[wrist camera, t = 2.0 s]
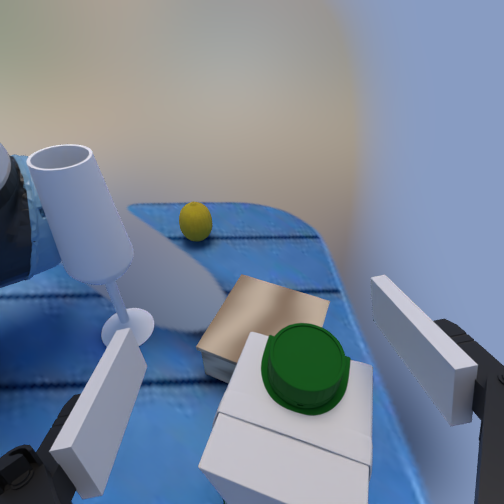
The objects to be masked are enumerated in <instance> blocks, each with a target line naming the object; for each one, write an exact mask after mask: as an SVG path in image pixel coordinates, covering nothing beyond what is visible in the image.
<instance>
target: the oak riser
mask: <svg viewBox="0 0 504 504" xmlns="http://www.w3.org/2000/svg"><path fill="white" fill-rule="evenodd" d="M329 302H330V301H328V300H324V299H321V298H318V297H314V296H311V295H308V294H305V293H301V292H298V291H295V290H291V289H288V288H285V287H282V286H278V285H275V284H272V283H268V282H265V281H262V280H259V279H255V278H252V277H249V276H245V275H241V276H240V278H239V279H238V281H237V283H236V284H235V286H234V287H233V289H232V291H231V292H230V294H229V295H228V297H227V298H226V300H225V302H224V303H223V305H222V306H221V308H220V310H219V311H218V313H217V314H216V316H215V318H214V319H213V321H212V322H211V324H210V326H209V327H208V329H207V330H206V332H205V334H204V335H203V337H202V338H201V340H200V341H199V343H198V345H197V346H196V348H197V350H199V351H201V352H202V358H203V363H204V368H205V374H207V375H210V376H212V377H214V378H217V379H219V380H222V381H224V382H226V383H229V382H230V379H231V377H232V375H233V372H234V370H235V367H236V365H237V362H238V360H239V358H240V355H241V353H242V351H243V348H244V346H245V343H246V341H247V339H248V336H249V334H250V332H256V333H259V334H263V335H266V336H269V335H273V336H275V335H276V334H277V333H278V332H279V331H280V330H281V329H283V328H284V327H286V326H288V325H291V324H295V323H309V324H314V325H317V326H320V327H322V326H323V323H324V319H325V316H326V313H327V309H328V306H329Z"/></svg>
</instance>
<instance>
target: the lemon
mask: <svg viewBox="0 0 504 504" xmlns="http://www.w3.org/2000/svg"><path fill="white" fill-rule="evenodd" d="M179 224H180V229H181V231H182V233H183V234H184V236H185V237H186V238H188V239H189V240H192V241H202V240H204V239H205V238H207V237H208V236H209V234H210V232H211V230H212V217H211V214H210V212H209V210H208V209H207V207H206V206H205V205H203V204H201V203H199V202H191V203H188V204H186V205H185V206H184V207H183V208H182V210H181V212H180V216H179Z"/></svg>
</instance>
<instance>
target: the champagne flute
mask: <svg viewBox="0 0 504 504" xmlns="http://www.w3.org/2000/svg"><path fill="white" fill-rule="evenodd" d="M26 162H27V165H28V168H29V171H30V174H31V177H32V179H33V182H34V185H35V188H36V190H37V193H38V196H39V199H40V202H41V204H42V207H43V210H44V213H45V215H46V218H47V221H48V224H49V227H50V229H51V232H52V235H53V238H54V241H55V243H56V246H57V249H58V252H59V254H60V257H61V260H62V263H63V266H64V268H65V270H66V272H67V273H68V274H69V275H70V276H71V277H72V278H74V279H76V280H78V281H80V282H82V283H87V284H91V285H103V284H105V286H106V289H107V291H108V293H109V296H110V298H111V301H112V303H113V305H114V308H115V310H116V314H114V315H113V316H111V317H110V318H109V319H108V320H107V322H106V323H105V324H104V326H103V328H102V332H101V338H102V341H103V343H104V344H105V345H106V346H107V347H108V345H109V343H110V342H111V340H112V338H113V336H114V334H115V333H116V331H117V330H121V329H126V328H131V330H132V332H133V335H134V337H135V339H136V341H137V344H138V346H140V345H141V344H143V343H144V342H145V341H146V340H147V339H148V338H149V337H150V335H151V334H152V332H153V329H154V319H153V317H152V315H151V314H150V313H149V312H147V311H145V310H143V309H140V308H129V309H126V307H125V305H124V302H123V299H122V297H121V294H120V291H119V289H118V286H117V283H116V281H115V280H117V279H118V278H120V277H121V276H122V275H123V274H124V273H125V272H126V271H127V269H128V268H129V266H130V264H131V262H132V260H133V255H134V250H133V246H132V244H131V241H130V239H129V237H128V235H127V232H126V230H125V227H124V225H123V223H122V220H121V218H120V216H119V213H118V211H117V209H116V206H115V204H114V202H113V199H112V197H111V195H110V192H109V190H108V188H107V186H106V183H105V181H104V178H103V176H102V174H101V171H100V169H99V167H98V164H97V162H96V160H95V158H94V155H93V152H92V151H91V149H89V148H87V147H85V146H82V145H74V144H66V145H57V146H51V147H48V148H45V149H41V150H39V151H37V152H35V153H33V154H32V155H30V156H29V157H28V158H27V161H26Z"/></svg>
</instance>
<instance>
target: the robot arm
mask: <svg viewBox="0 0 504 504" xmlns="http://www.w3.org/2000/svg"><path fill="white" fill-rule="evenodd" d="M27 158H28V156H18V155H12V156H9V154H8V152H7V151H6V149H5V148H4V147H3V145H2V144H1V143H0V288H2V287H5V286H8V285H11V284H14V283H17V282H20V281H23V280H28V279H31V278H32V277H33V276H34V275H36V274H38V273H41V272H43V271H46V270H48V269H51V268H53V267H55V266H57V265H58V264H59V263H60V262H61V261H62V260H61V257H60V254H59V252H58V249H57V246H56V243H55V241H54V238H53V235H52V232H51V229H50V227H49V224H48V221H47V218H46V215H45V213H44V210H43V207H42V204H41V202H40V199H39V196H38V193H37V190H36V188H35V185H34V182H33V179H32V177H31V174H30V171H29V168H28V165H27V162H26V161H27ZM371 292H372V310H373V321H374V322H375V323H376V325H377V326H378V327H379V329H380V330H381V332H382V333H383V334H384V336H385V337H386V339H387V340H388V341H389V342H390V344H391V345H392V347H393V348H394V349H395V351H396V352H397V354H398V355H399V356H400V358H401V359H402V360H403V362H404V363H405V365H406V366H407V367H408V369H409V370H410V371H411V373H412V374H413V375H414V377H415V378H416V379H417V381H418V382H419V384H420V385H421V386H422V388H423V389H424V390H425V392H426V393H427V394H428V396H429V397H430V399H431V400H432V401H433V403H434V404H435V405H436V407H437V408H438V410H439V411H440V412H441V414H442V415H443V417H444V418H445V419H446V421H447V422H448V423H449V425H450V426H455V425H460V424H465V423H470V422H472V414H473V411H474V413H475V414H476V415H477V416H478V417H479V418H480V420H481V427H480V435H479V453H478V465H477V477H476V489H475V501H474V504H504V366H503V365H502V364H501V363H500V362H499V361H497V360H496V359H495V358H494V357H493V356H492V355H491V354H490V353H488V352H487V351H486V350H485V349H484V348H483V347H482V346H481V345H479V344H478V343H477V342H476V341H474V339H473V338H471V337H470V336H469V335H467V334H466V332H465V331H464V330H462V329H461V328H460V327H459V326H458V325H456V324H454V323H452V322H450V321H448V320H446V319H440V320H436V321H432V320H431V319H430V318H429V317H428V316H427V315H426V314H425V313H424V312H423V311H422V310H421V309H420V308H419V307H418V306H417V305H416V304H415V303H414V302H413V301H411V299H409V298H408V297H407V296H406V295H405V294H404V293H403V292H402V291H401V290H400V289H399V288H398V287H397V286H396V285H395V284H394V283H393V282H392V281H391V280H390V279H389V278H388V277H387V276H385V275H381V276H377V277H371ZM146 369H147V364H146V362H145V360H144V358H143V355H142V353H141V351H140V348H139V346H138V344H137V341H136V339H135V337H134V335H133V332H132V330H131V328H126V329H121V330H117V331H116V333H115V334H114V336H113V338H112V340H111V342H110V343H109V345H108V347H107V349H106V350H105V352H104V354H103V356H102V358H101V359H100V361H99V363H98V365H97V367H96V368H95V370H94V372H93V374H92V376H91V377H90V379H89V381H88V383H87V384H86V386H85V388H84V390H83V392H82V393H81V394H77V395H74V396H73V397H72V398H71V399H70V400H69V401H68V402H67V403H66V404H65V405H64V407H63V408H62V410H61V412H60V413H59V415H58V418H57V419H56V420H55V422H54V423H53V425H52V428H50V430H49V432H48V433H47V435H46V437H45V438H44V440H43V442H42V444H41V445H40V447H39V449H38V450H37V452H35V451H34V450H33V448H32V447H31V446H30V445H21V446H18V447H16V448H14V449H12V450H10V451H8V452H7V453H6V454H5V455H3V456H2V457H1V458H0V504H72V502H71V500H72V498H73V496H74V493H75V491H77V492H78V493H79V495H80V496H81V498H82V499H87V498H92V497H97V496H102V495H103V492H104V489H105V487H106V484H107V481H108V478H109V475H110V472H111V469H112V466H113V464H114V461H115V458H116V455H117V452H118V449H119V446H120V443H121V441H122V438H123V435H124V432H125V429H126V426H127V423H128V421H129V418H130V415H131V412H132V409H133V406H134V403H135V400H136V398H137V395H138V392H139V389H140V386H141V383H142V380H143V377H144V375H145V372H146Z"/></svg>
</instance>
